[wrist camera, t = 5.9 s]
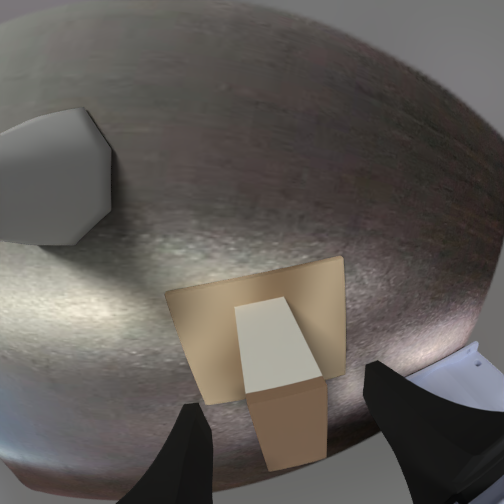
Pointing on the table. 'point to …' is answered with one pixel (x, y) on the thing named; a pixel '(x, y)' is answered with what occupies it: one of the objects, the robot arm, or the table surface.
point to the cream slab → (282, 385)
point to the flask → (53, 179)
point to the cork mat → (251, 291)
